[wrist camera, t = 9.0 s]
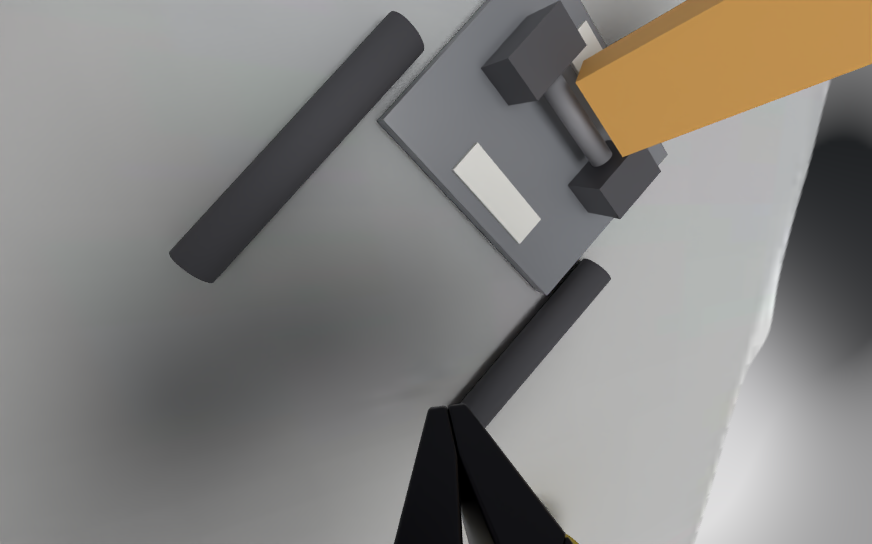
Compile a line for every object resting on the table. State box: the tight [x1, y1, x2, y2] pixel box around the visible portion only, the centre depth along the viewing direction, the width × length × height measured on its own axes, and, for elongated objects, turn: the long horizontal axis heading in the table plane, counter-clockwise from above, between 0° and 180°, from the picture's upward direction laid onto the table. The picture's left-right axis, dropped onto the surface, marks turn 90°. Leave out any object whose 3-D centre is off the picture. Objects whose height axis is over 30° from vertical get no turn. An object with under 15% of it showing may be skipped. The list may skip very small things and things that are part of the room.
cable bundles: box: [169, 11, 611, 428], centre depth 19 cm, size 12×17×2 cm
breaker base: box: [377, 0, 668, 296], centre depth 19 cm, size 10×12×3 cm
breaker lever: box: [543, 0, 872, 167], centre depth 14 cm, size 2×4×13 cm, turn 44°
